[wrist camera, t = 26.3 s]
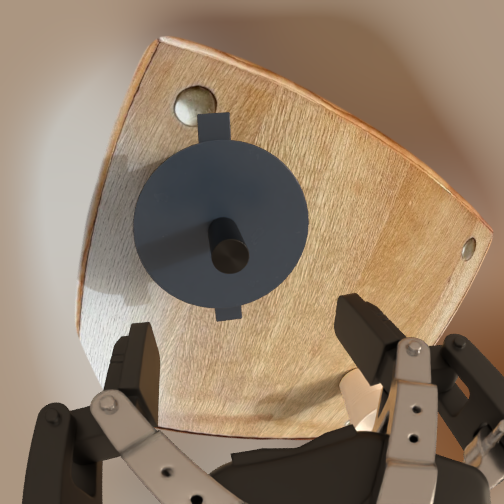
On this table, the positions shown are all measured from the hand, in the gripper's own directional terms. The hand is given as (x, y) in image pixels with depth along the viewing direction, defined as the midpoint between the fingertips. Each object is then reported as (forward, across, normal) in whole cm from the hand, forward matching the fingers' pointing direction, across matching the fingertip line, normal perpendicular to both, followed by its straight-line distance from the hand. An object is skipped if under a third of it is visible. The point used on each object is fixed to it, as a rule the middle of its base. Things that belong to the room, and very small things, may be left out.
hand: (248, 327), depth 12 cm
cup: (+21, -22, +34) cm, 46 cm away
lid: (+12, 0, 0) cm, 12 cm away
